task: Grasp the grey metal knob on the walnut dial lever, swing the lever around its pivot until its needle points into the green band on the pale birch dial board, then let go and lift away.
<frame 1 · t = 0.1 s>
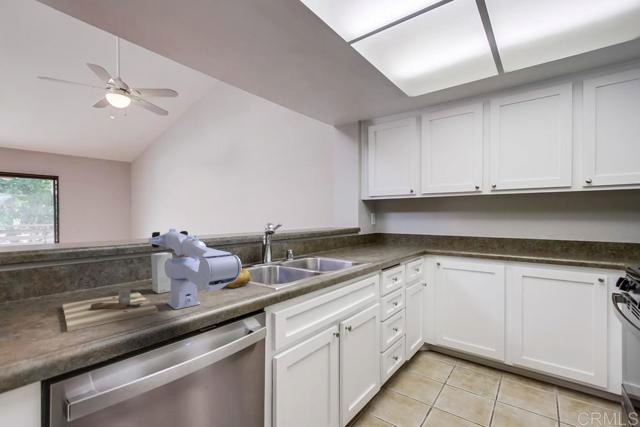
hand: (164, 236, 111), 22 cm above the worktop, tool horizontal, fingers open, 7 cm apart
soda can: (190, 281, 130), on the worktop
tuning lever: (115, 298, 89), point 4 cm above the worktop, hinge at -40.0°
dial board: (109, 310, 91), on the worktop
potato: (238, 285, 123), on the worktop
skincare box: (162, 291, 114), on the worktop
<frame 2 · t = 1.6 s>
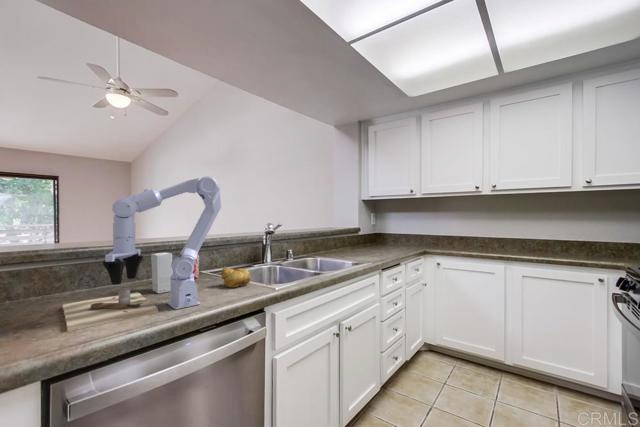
hand: (124, 281, 89), 9 cm above the worktop, tool pointing down, fingers open, 7 cm apart
nothing on the worktop moved.
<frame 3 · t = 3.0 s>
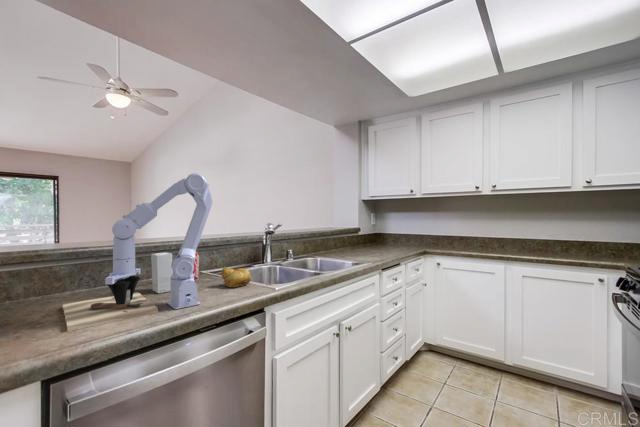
hand: (124, 302, 89), 3 cm above the worktop, tool pointing down, fingers closed on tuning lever, 3 cm apart
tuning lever: (115, 298, 89), point 4 cm above the worktop, hinge at -40.0°, touching gripper
everything else where it was.
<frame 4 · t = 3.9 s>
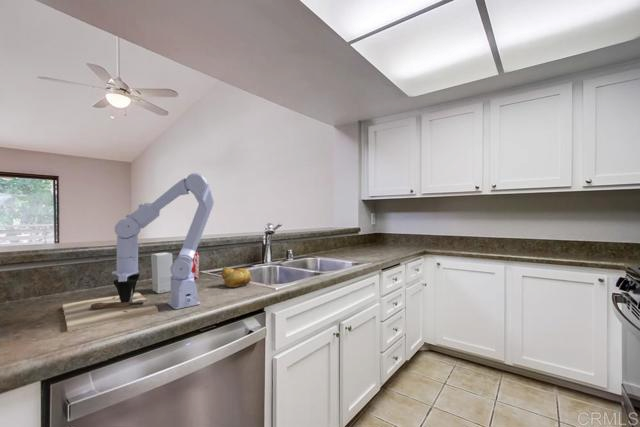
hand: (127, 299, 92), 3 cm above the worktop, tool pointing down, fingers open, 5 cm apart
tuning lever: (117, 298, 90), point 4 cm above the worktop, hinge at -29.0°, touching gripper
everything else where it was.
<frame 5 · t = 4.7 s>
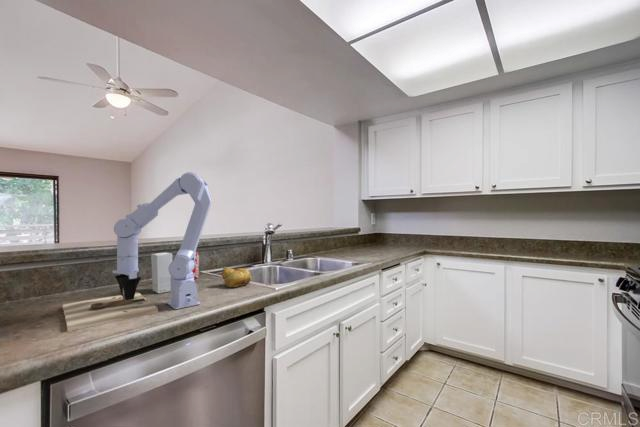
hand: (127, 297, 94), 3 cm above the worktop, tool pointing down, fingers open, 5 cm apart
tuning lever: (118, 296, 92), point 4 cm above the worktop, hinge at -7.2°, touching gripper
everything else where it was.
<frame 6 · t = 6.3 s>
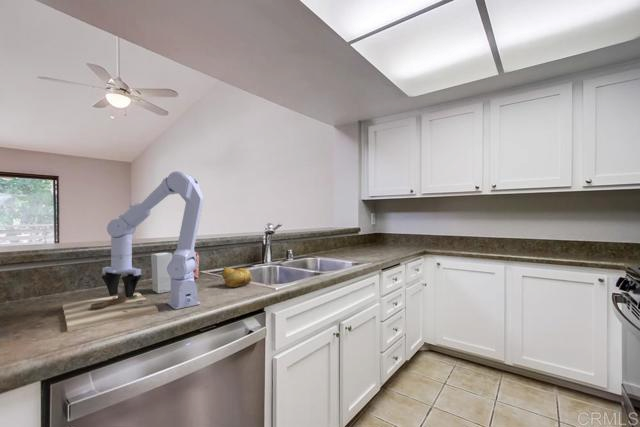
hand: (121, 295, 97), 3 cm above the worktop, tool pointing down, fingers open, 6 cm apart
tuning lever: (115, 294, 94), point 4 cm above the worktop, hinge at 24.7°
everything else where it was.
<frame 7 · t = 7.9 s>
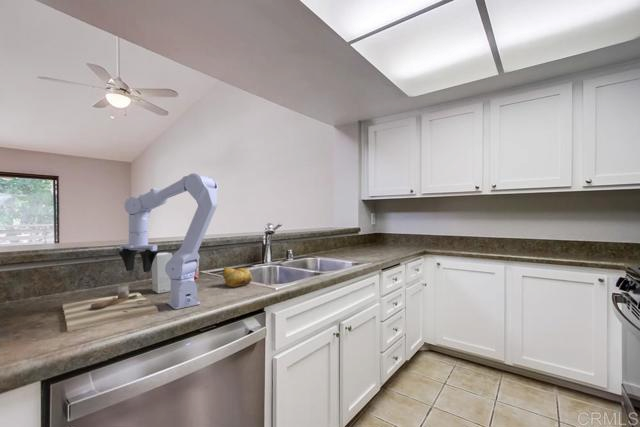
hand: (138, 270, 101), 10 cm above the worktop, tool pointing down, fingers open, 7 cm apart
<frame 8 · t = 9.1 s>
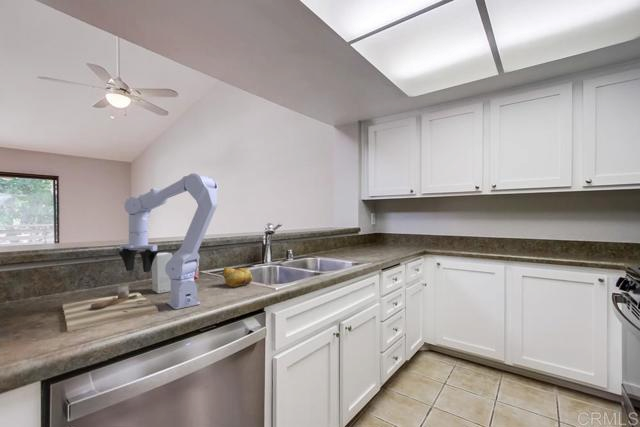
hand: (138, 270, 101), 10 cm above the worktop, tool pointing down, fingers open, 7 cm apart
at the end: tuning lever at +25° (first picture: -40°); the gripper is holding nothing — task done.
